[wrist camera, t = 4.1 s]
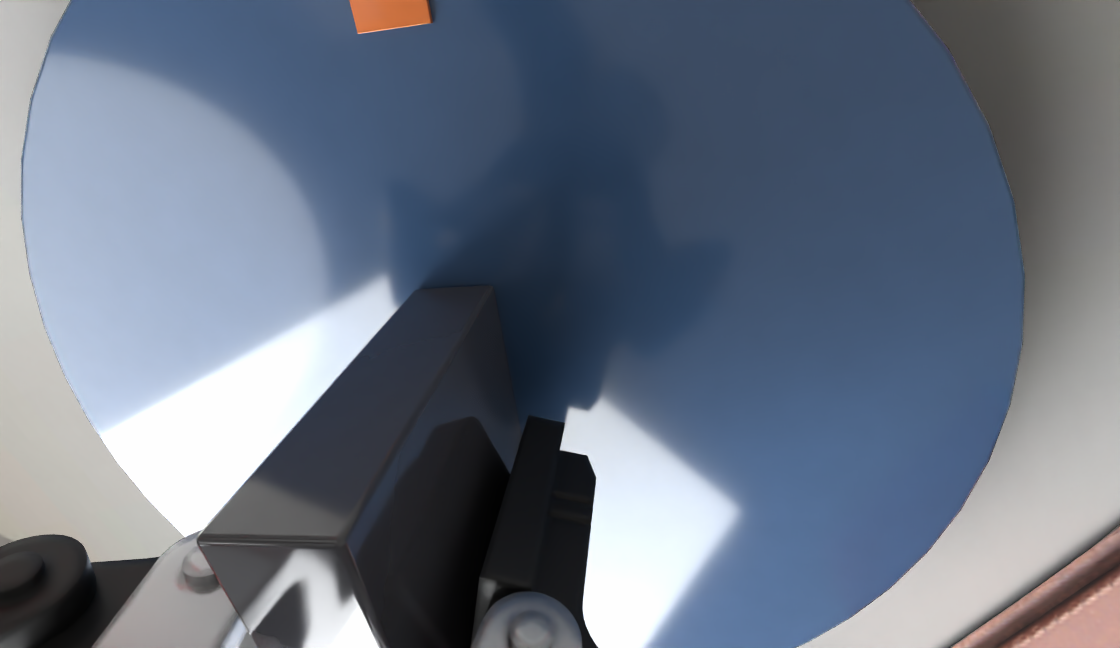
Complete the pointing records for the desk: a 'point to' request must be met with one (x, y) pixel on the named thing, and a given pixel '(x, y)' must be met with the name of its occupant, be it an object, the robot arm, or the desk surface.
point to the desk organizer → (1063, 607)
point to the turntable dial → (528, 296)
